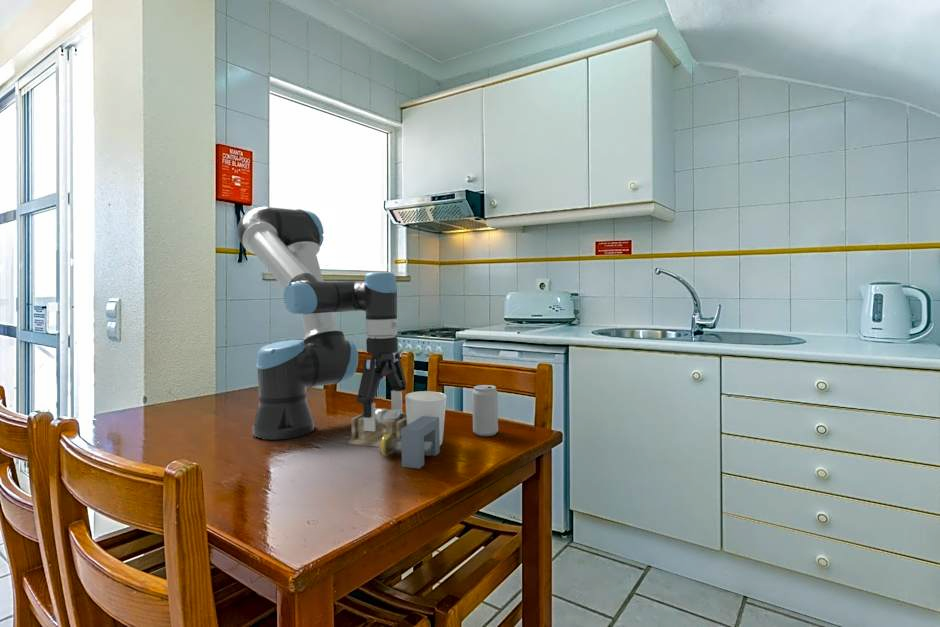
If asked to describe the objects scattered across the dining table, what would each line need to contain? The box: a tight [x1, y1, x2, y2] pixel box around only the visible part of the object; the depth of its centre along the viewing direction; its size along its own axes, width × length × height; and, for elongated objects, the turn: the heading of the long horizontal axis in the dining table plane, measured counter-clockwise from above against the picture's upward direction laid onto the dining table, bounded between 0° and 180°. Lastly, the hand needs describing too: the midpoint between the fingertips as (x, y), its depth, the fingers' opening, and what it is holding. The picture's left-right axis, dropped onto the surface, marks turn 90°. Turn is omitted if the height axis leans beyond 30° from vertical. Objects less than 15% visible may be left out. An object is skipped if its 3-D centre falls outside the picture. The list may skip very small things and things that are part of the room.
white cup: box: [404, 390, 447, 446], centre depth 124 cm, size 10×10×12 cm
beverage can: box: [471, 384, 499, 437], centre depth 131 cm, size 6×6×12 cm
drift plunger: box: [379, 434, 433, 457], centre depth 114 cm, size 11×5×5 cm, turn 71°
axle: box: [361, 407, 403, 429], centre depth 128 cm, size 9×4×4 cm
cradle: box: [348, 411, 407, 448], centre depth 127 cm, size 14×10×6 cm
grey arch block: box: [401, 416, 441, 470], centre depth 113 cm, size 4×11×8 cm, turn 161°
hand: (384, 423), depth 127 cm, fingers open, 13 cm apart
